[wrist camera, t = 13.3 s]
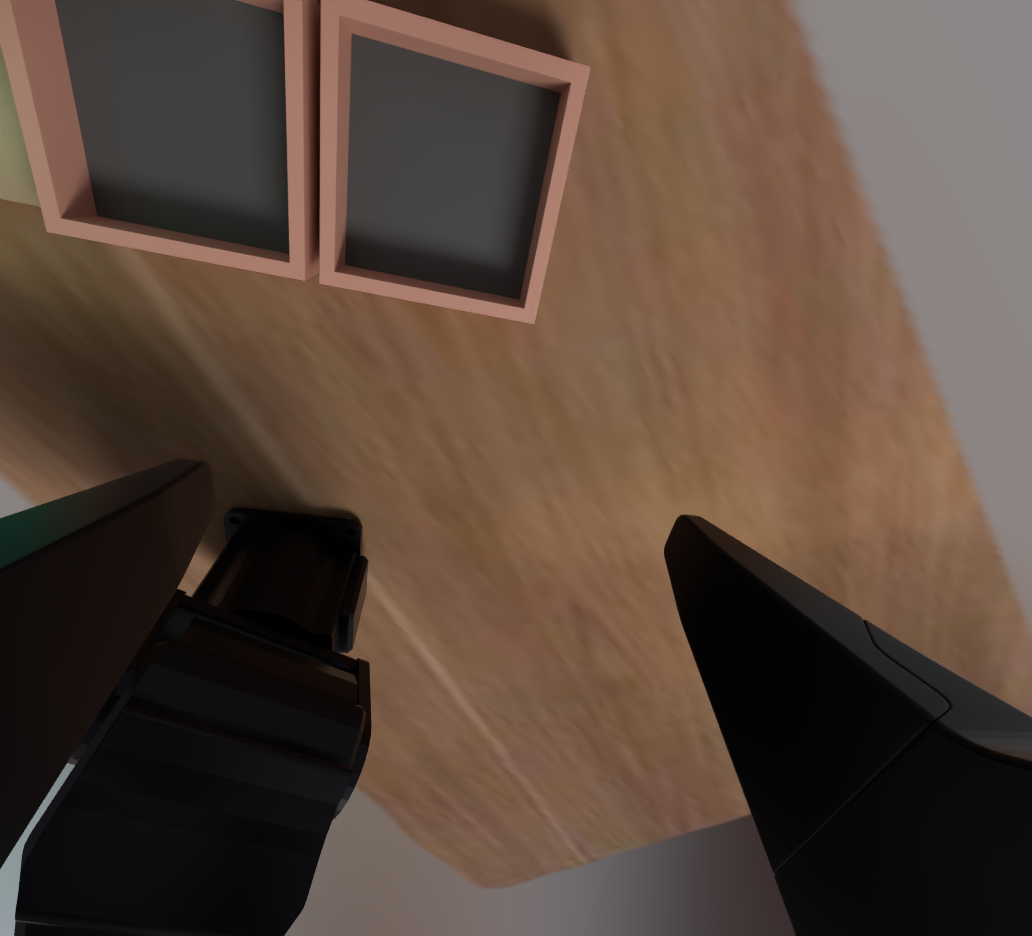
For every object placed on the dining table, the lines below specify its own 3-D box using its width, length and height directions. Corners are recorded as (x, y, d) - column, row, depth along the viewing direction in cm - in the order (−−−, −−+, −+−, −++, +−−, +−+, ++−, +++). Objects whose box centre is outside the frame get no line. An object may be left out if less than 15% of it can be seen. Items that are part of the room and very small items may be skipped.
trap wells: (88, 227, 17) (47, 232, 16) (23, -82, 13) (-41, -123, 12) (528, 312, 20) (534, 324, 19) (577, 80, 16) (590, 67, 15)
